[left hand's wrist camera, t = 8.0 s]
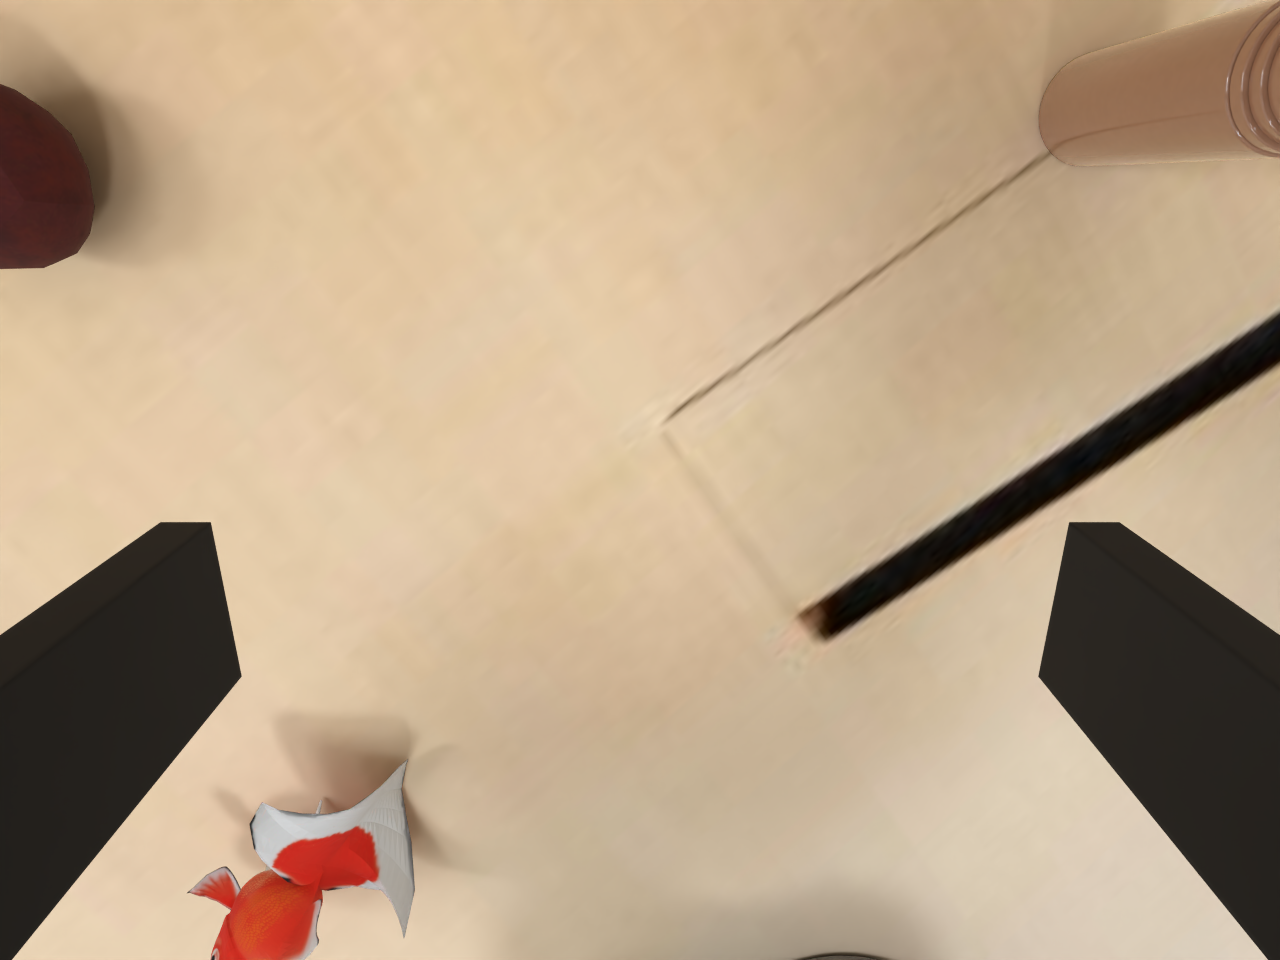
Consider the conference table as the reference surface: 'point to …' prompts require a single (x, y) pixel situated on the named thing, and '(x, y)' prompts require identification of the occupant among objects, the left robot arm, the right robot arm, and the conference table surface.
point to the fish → (312, 873)
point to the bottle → (1172, 95)
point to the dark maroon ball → (39, 187)
